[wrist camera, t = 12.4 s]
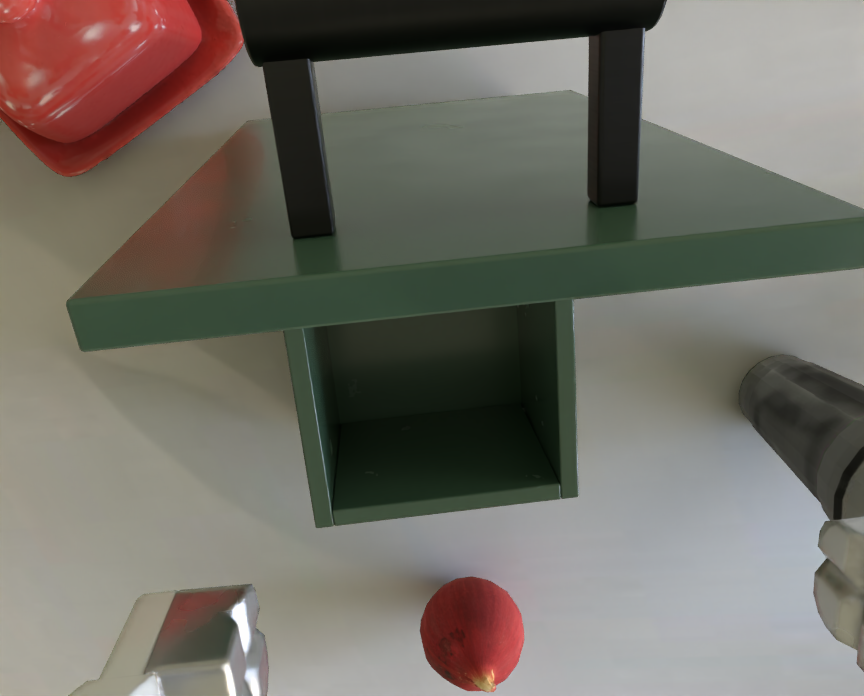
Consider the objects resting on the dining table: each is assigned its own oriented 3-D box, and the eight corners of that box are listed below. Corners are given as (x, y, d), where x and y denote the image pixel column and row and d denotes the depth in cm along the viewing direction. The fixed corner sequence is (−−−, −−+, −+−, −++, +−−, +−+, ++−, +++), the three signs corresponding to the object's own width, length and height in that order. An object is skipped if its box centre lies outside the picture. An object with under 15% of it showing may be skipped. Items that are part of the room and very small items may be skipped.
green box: (533, 408, 42) (579, 497, 32) (328, 431, 41) (315, 528, 32) (518, 99, 36) (569, 101, 27) (282, 122, 36) (250, 131, 26)
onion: (426, 636, 46) (437, 742, 39) (409, 560, 44) (416, 656, 37) (517, 618, 46) (545, 720, 39) (503, 541, 44) (530, 633, 37)
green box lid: (876, 268, 11) (956, -152, 9) (78, 354, 10) (-56, -69, 8) (572, 113, 27) (572, -51, 24) (250, 143, 26) (220, -20, 24)
